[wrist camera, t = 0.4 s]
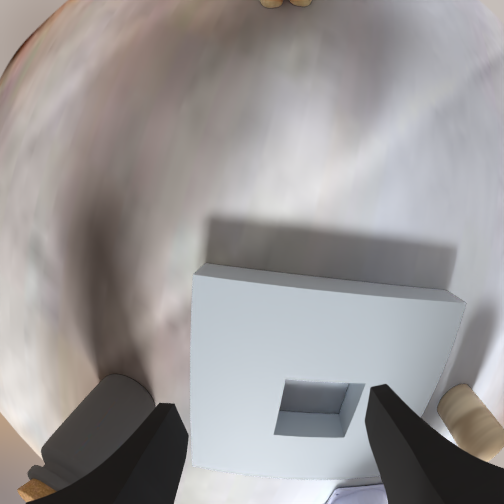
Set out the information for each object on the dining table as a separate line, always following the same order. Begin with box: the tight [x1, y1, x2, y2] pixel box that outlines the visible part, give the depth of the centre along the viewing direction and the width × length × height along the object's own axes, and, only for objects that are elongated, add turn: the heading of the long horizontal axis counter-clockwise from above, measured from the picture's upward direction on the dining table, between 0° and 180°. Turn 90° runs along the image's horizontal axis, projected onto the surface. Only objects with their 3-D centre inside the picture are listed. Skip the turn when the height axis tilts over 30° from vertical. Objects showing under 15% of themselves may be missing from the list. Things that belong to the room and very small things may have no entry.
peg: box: [437, 384, 504, 462], centre depth 16 cm, size 4×4×8 cm
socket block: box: [190, 263, 466, 480], centre depth 19 cm, size 18×18×3 cm
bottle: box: [18, 374, 155, 502], centre depth 15 cm, size 6×6×15 cm
